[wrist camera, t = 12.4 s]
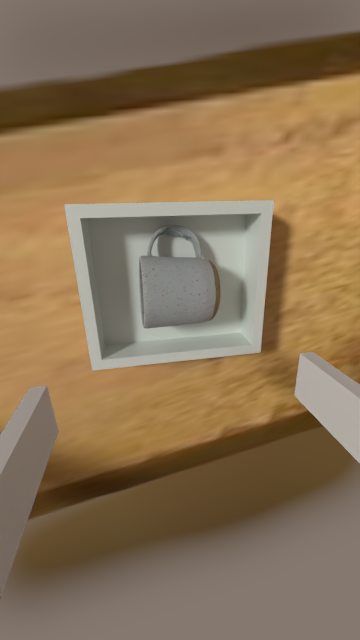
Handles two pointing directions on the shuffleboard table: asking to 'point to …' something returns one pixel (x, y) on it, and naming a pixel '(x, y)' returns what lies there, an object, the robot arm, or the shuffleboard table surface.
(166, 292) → the ceramic mug
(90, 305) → the bin
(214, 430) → the shuffleboard table surface
